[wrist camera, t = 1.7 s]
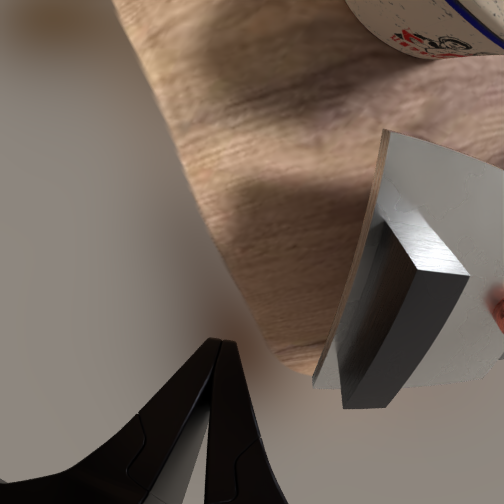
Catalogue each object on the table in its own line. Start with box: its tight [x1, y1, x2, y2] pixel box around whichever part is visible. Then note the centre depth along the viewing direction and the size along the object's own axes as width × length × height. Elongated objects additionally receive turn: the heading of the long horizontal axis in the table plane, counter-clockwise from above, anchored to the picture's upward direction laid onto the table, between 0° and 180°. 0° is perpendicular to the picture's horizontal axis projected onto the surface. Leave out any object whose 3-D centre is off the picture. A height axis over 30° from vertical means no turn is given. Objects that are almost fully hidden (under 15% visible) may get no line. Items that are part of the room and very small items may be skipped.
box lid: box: [312, 129, 504, 409], centre depth 10 cm, size 13×13×4 cm
